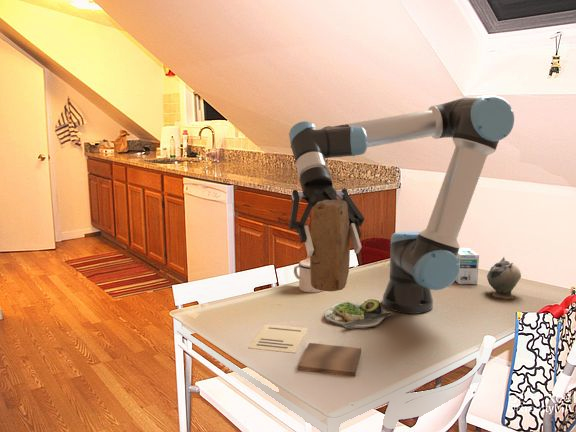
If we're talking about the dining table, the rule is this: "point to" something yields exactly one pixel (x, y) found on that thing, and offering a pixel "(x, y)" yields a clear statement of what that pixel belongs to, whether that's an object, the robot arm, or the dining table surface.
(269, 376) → the dining table surface
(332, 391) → the dining table surface
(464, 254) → the light bulb box
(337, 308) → the salad plate
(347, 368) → the plate
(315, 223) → the brown tall rough part
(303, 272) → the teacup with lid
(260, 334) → the letter
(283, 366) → the dining table surface
